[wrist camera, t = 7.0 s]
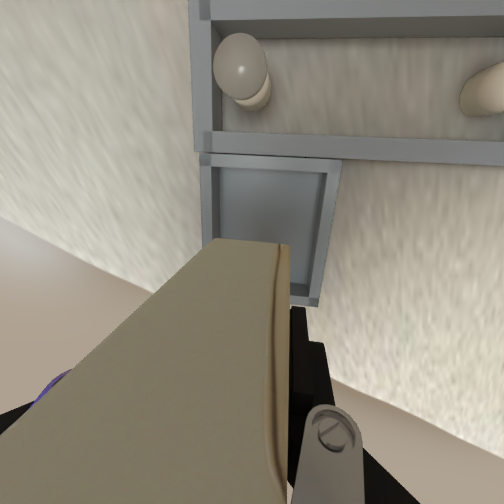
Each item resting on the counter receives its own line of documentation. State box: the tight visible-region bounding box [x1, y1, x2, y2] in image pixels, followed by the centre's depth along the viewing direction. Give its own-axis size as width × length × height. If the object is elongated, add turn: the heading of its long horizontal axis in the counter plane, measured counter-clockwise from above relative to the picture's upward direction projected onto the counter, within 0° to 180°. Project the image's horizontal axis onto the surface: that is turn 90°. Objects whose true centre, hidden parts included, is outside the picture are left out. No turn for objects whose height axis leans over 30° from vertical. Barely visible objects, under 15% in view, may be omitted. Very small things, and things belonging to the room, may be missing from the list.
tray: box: [199, 153, 343, 307], centre depth 24 cm, size 12×14×3 cm
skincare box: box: [0, 238, 290, 504], centre depth 8 cm, size 6×4×12 cm
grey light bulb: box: [213, 33, 271, 111], centre depth 18 cm, size 3×3×6 cm
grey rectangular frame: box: [188, 0, 504, 166], centre depth 19 cm, size 27×10×3 cm, turn 87°
